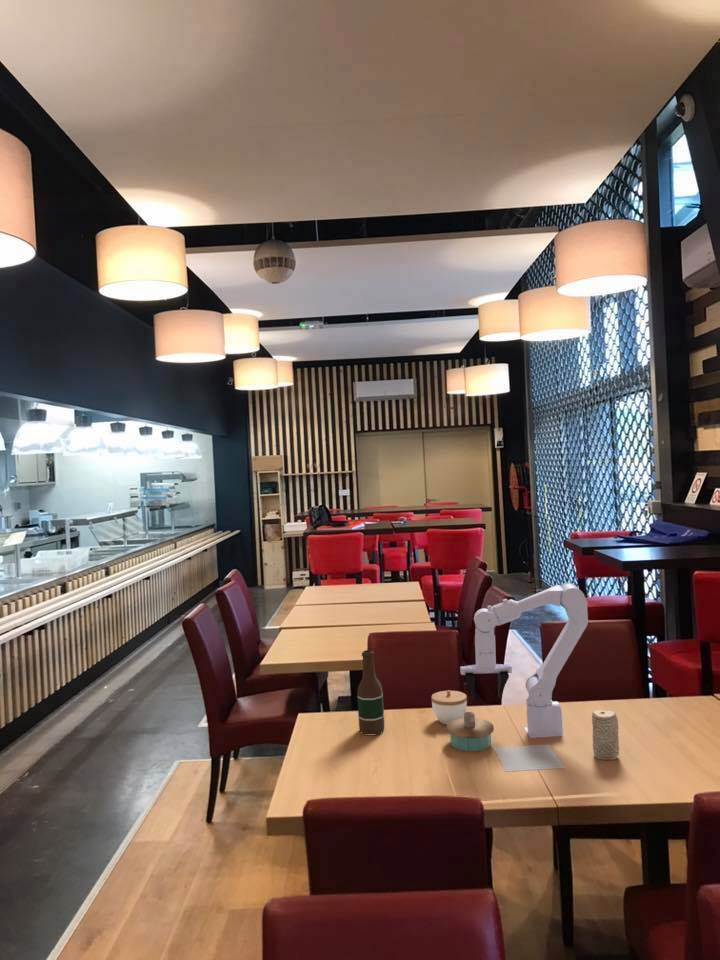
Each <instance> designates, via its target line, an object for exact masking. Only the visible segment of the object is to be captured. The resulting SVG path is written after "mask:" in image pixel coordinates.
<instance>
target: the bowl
mask: <svg viewBox="0 0 720 960" xmlns="http://www.w3.org/2000/svg"><path fill="white" fill-rule="evenodd" d="M491 734H492V733H491ZM491 734H490V735H487V736H484V737H480V738H460V737H456V736H453V735H451V734H449V743H450V745H451V747H453V748H454V749H456V750H460V751H464V752H477V751H478V752H479V751H481V750H482V751H483V750H485V749H488V748H489V747H490V746H491V744H492V735H491Z"/></svg>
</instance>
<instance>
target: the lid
mask: <svg viewBox="0 0 720 960" xmlns="http://www.w3.org/2000/svg"><path fill="white" fill-rule="evenodd" d="M475 715H476V714H475V712H472V711H466V713H464V717H463V718H462V719H457V720H453V721H451V722H449V723H448V724H447V725H446V732H447V733H448V734H449V735H450V734H451V735H453V736H456V737H460V738H480V737H484V736H487V735H490V734H492V733H493V732H494V730H495V729H494V728H495V727H494V724H493V723H492V722H490V721H488V720H486V719H483V718H478V717H477V718H476V716H475Z"/></svg>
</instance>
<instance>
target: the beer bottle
mask: <svg viewBox="0 0 720 960" xmlns="http://www.w3.org/2000/svg"><path fill="white" fill-rule="evenodd" d="M374 654H375V653H374V651H373V650H369V649H366V650H363V651H362V652H361V657H362V678H361V680H360V682H359V684H358V687H357V693H356V694H357V695H356V696H357V708H358V709H357V712H358V727H359V728H358V729H359V732H362V733H364V734H377V735H379V734H378V733H380V734H382V733H381V732H383V733H384V730H385V709H384V693H383V692H384V691H383V687H382V684H381V681H379V678H377V674H376V669H375V661H374ZM362 733H361V734H362ZM364 734H363V735H364Z"/></svg>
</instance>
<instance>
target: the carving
mask: <svg viewBox="0 0 720 960" xmlns="http://www.w3.org/2000/svg"><path fill="white" fill-rule="evenodd" d="M591 719H592V720H591V724H592V751H593V754H594V757H595V758H596V759H598V760H603V761H604V760H605V761H613V760H616V759H617V758H619V755H620V745H619V742H620V741H619V739H620V738H619V728H620V727H619V719H618V716H617V713H616V712H614V711H612V710H608V709H607V710H605V709H599V710H594V711H593V712H592V715H591Z"/></svg>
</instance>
